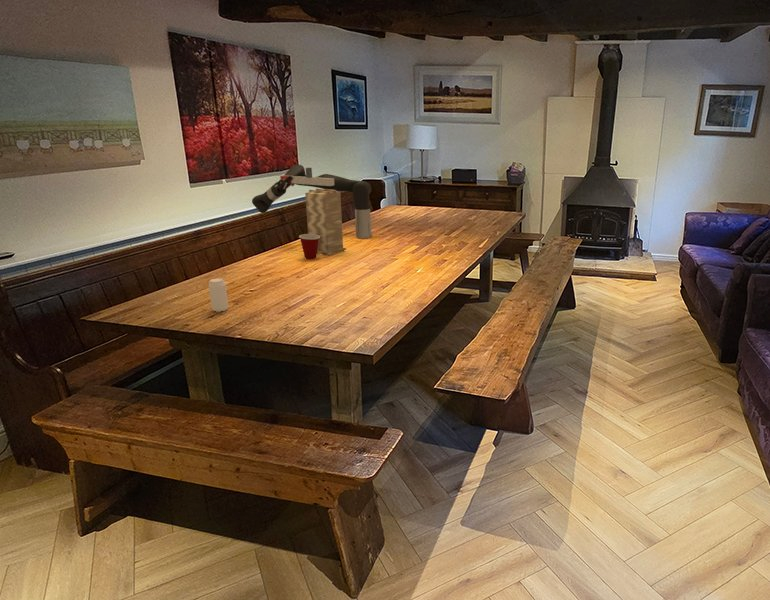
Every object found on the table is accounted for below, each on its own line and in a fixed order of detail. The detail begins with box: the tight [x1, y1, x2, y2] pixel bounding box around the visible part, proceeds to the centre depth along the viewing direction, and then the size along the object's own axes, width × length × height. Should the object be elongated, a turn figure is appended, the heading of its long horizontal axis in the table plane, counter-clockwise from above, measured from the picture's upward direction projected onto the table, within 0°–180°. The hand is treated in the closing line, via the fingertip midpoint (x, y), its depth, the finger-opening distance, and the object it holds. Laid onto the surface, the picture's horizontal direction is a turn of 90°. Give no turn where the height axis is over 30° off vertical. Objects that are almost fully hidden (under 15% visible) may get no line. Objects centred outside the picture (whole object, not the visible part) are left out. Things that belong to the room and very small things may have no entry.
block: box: [279, 167, 334, 186], centre depth 286 cm, size 36×4×9 cm, turn 54°
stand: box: [304, 188, 347, 257], centre depth 287 cm, size 16×14×33 cm
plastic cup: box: [298, 233, 320, 260], centre depth 277 cm, size 11×11×12 cm
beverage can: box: [208, 277, 229, 313], centre depth 202 cm, size 6×6×12 cm
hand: (293, 177), depth 291 cm, fingers closed on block, 4 cm apart
